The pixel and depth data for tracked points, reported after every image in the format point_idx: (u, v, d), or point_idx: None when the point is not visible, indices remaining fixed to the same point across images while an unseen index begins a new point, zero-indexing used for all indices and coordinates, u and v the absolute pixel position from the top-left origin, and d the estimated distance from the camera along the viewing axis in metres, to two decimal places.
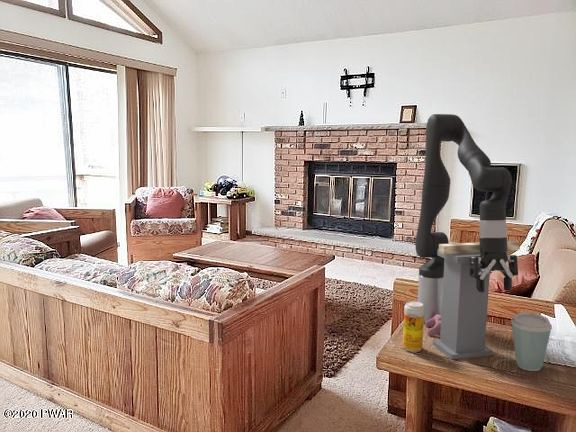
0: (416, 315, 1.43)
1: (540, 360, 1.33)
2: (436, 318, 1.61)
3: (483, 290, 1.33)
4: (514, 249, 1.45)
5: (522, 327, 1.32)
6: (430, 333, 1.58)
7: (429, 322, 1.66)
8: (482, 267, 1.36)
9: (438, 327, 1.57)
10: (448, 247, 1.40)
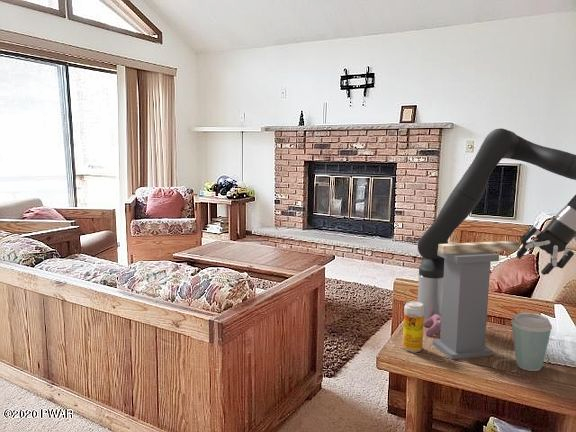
0: (416, 315, 1.43)
1: (540, 360, 1.33)
2: (434, 318, 1.61)
3: (520, 257, 1.42)
4: (514, 249, 1.45)
5: (522, 327, 1.32)
6: (428, 333, 1.58)
7: (427, 322, 1.66)
8: (536, 241, 1.42)
9: (436, 327, 1.57)
10: (447, 247, 1.40)
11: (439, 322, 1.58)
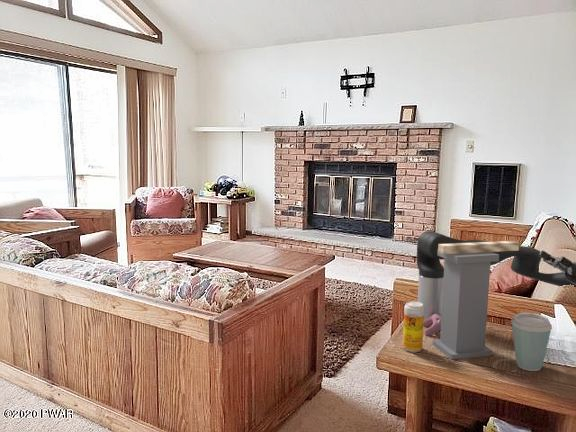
0: (416, 315, 1.43)
1: (540, 360, 1.33)
2: (433, 318, 1.61)
3: (543, 251, 1.54)
4: (514, 249, 1.45)
5: (522, 327, 1.32)
6: (427, 332, 1.58)
7: (426, 322, 1.66)
8: (556, 266, 1.54)
9: (436, 327, 1.57)
10: (447, 247, 1.40)
11: (438, 322, 1.58)
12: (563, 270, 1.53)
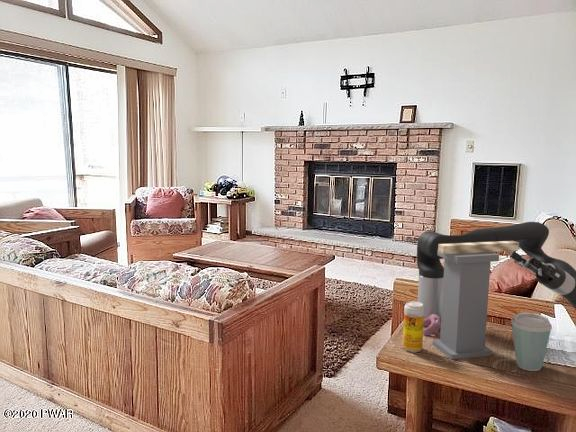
0: (416, 315, 1.43)
1: (540, 360, 1.33)
2: (432, 318, 1.61)
3: None
4: (514, 249, 1.45)
5: (522, 327, 1.32)
6: (426, 332, 1.58)
7: (425, 322, 1.66)
8: (527, 267, 1.51)
9: (434, 327, 1.58)
10: (447, 247, 1.40)
11: (437, 322, 1.58)
12: (534, 271, 1.50)
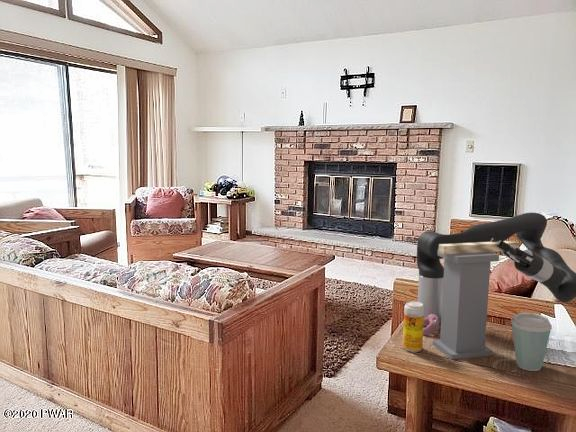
0: (416, 315, 1.43)
1: (540, 360, 1.33)
2: (430, 317, 1.61)
3: (494, 238, 1.46)
4: None
5: (522, 327, 1.32)
6: (424, 332, 1.58)
7: None
8: None
9: (432, 327, 1.58)
10: (448, 247, 1.39)
11: (435, 322, 1.58)
12: (512, 259, 1.48)
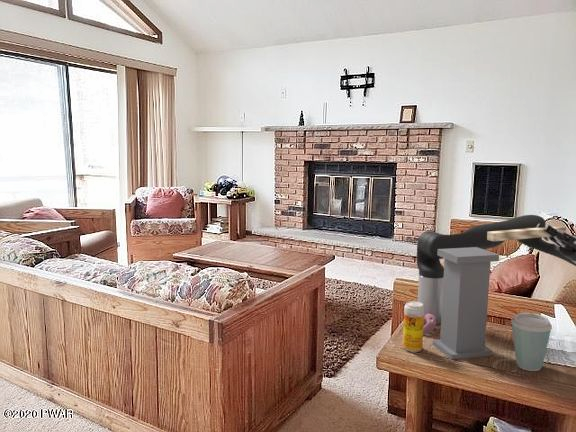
0: (416, 315, 1.43)
1: (540, 360, 1.33)
2: (427, 317, 1.61)
3: None
4: None
5: (522, 327, 1.32)
6: None
7: None
8: None
9: (429, 326, 1.58)
10: (497, 234, 1.41)
11: (432, 321, 1.59)
12: (558, 244, 1.49)
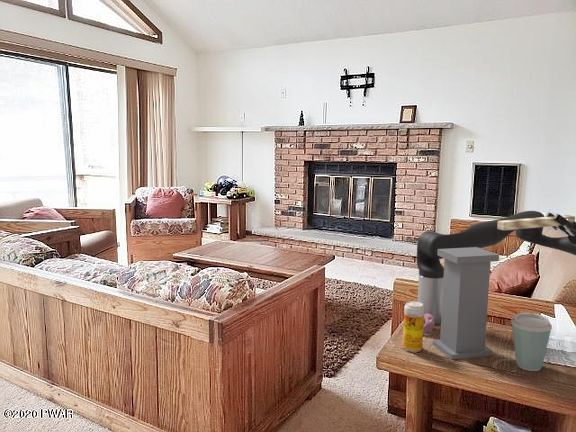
0: (416, 315, 1.43)
1: (540, 360, 1.33)
2: (426, 317, 1.62)
3: None
4: None
5: (522, 327, 1.32)
6: None
7: None
8: None
9: (428, 326, 1.58)
10: (507, 223, 1.43)
11: (431, 321, 1.59)
12: (567, 233, 1.51)
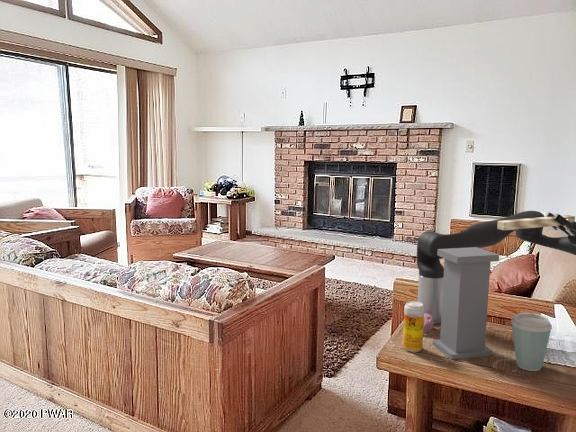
0: (416, 315, 1.43)
1: (540, 360, 1.33)
2: (425, 317, 1.62)
3: None
4: None
5: (522, 327, 1.32)
6: None
7: None
8: None
9: (427, 326, 1.58)
10: (507, 223, 1.43)
11: (429, 321, 1.59)
12: (567, 233, 1.51)
